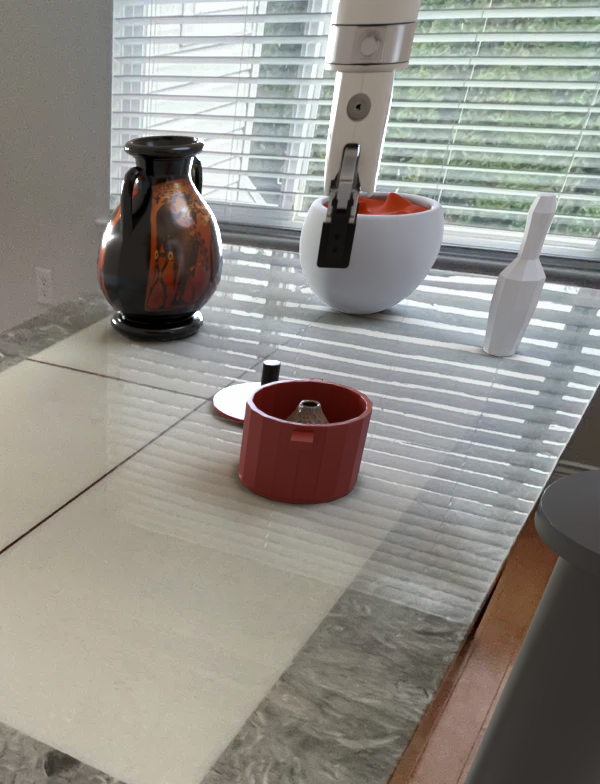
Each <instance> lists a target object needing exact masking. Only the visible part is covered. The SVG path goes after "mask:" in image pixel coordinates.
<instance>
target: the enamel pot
mask: <svg viewBox="0 0 600 784" xmlns="http://www.w3.org/2000/svg"><path fill="white" fill-rule="evenodd" d="M304 400H314V401H317V402H319V403H320V404H321V408H322V412H323V414H324V415H325V417H326V419H327V420H328V422H329V424H303V423H297V422H290V421H285V420H286V419H287V418H288V417H289V416H290V415H291V414H292V413H293V412H294V411H295V410H296V408H297V407H298V405H299V404H300V402H302V401H304ZM373 405H374V404H373V401H372V400H371V399H370V398H369V396H367V395H366V394H365V393H363V392H362V391H359V390H358V389H356V388H354V387H351V386H347V385H344V384H341V383H337V382H334V381H333V382H332V381H326V380H324V378H318V377H317V378H316V377H303V379H293V378H292V379H285V380H278V381H276V382H272V383H269V384H265V385H262V386H259V387H257V388H256V389H254V390H253V391H252V392H250V393H249V395H248V398H247V401H246V409H245V418H244V423H243V426H242V427H243V428H242V435H241V443H240V452H239V461H238V469H237V472H238V473H237V474H238V478H239V479H238V480H239V481H240V482H241V484H242V485H243V486H244V487H245V488H246V489H248V490H249V491H250V492H252V493H254V494H256V495H258V496H261V497H264V498H267V499H268V500H269V499H270V500H273V501H278V502H283V503H289V504H299V505H301V504H302V505H303V504H304V505H306V504H308V505H309V504H321V503H327V502H333V501H336V500H339V499H342V498H344V497H345V496H347V495H348V494H350V493H351V492H352V491H353V490H354V488H355V487H356V484H357V482H358V477H359V473H360V468H361V464H362V461H363V460H362V459H363V456H364V451H365V447H366V446H365V445H366V441H367V436H368V432H369V427H370V423H371V418H372V413H373V407H374V406H373Z"/></svg>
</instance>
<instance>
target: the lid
mask: <svg viewBox="0 0 600 784" xmlns="http://www.w3.org/2000/svg"><path fill="white" fill-rule="evenodd" d="M281 365H282V362H281V361H280V360H277V359H267V360H264V361H263V362H262V371H261V379H260V381H259V382H257V381H256V382H245V383H239V384H234V385H230V386H228V387H227V386H226V387H225V388H223V389H220V390H219V391H218V392H217V393H216V394H214V396H213V398H212V407H213V409H214V410H215V411H216V413H218V414H219V415H221V416H222V417H223V418H226V419H228V420H230V421H233V422H237V423H240V424H244V418H245V409H246V401H247V398H248V395H249V393H250V392H252V391H253V390H254V389H256V388H257V387H259V386H262V385H265V384H269V383H272V382H276V381H280V373H281Z"/></svg>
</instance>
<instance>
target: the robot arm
mask: <svg viewBox="0 0 600 784" xmlns="http://www.w3.org/2000/svg"><path fill="white" fill-rule="evenodd" d="M421 2H422V0H333V5H332V12H331V19H330V24H329V25H330V26H329V33H328V41H327V47H326V54H325V62H324V70H325V71H327V72H336V76H335V83H334V90H333V96H332V97H333V98H332V103H331V112H330V118H329V119H330V120H329V128H328V134H327V143H326V153H325V154H326V155H325V164H324V165H325V166H324V181H323V182H324V183H323V193H324V194H325V196H328V197H329V202H328V208H327V215H326V221H325V222H323V225H322V231H321V238H320V244H319V251H318V257H317V266H318V267H319V268H342V269H345V268H347V267H348V266H349V263H350V257H351V252H352V246H353V240H354V235H355V229H356V220H357V214H358V208H359V203H360V202H358V198H359V193H360V192H361V191H362V192H367V197H371V196H372V195H373V194H374V192H375V191H376V187H377V181H378V176H379V171H380V166H381V159H382V154H383V150H384V144H385V138H386V133H387V128H388V123H389V118H390V117H389V116H390V111H391V105H392V99H393V92H394V91H393V90H394V83H395V77H396V76H395V73H396V71H402V70H407V69H409V65H410V64H409V63H410V59H411V54H412V49H413V43H414V39H415V33H416V27H417V21H418V17H419V12H420V7H421Z"/></svg>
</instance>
